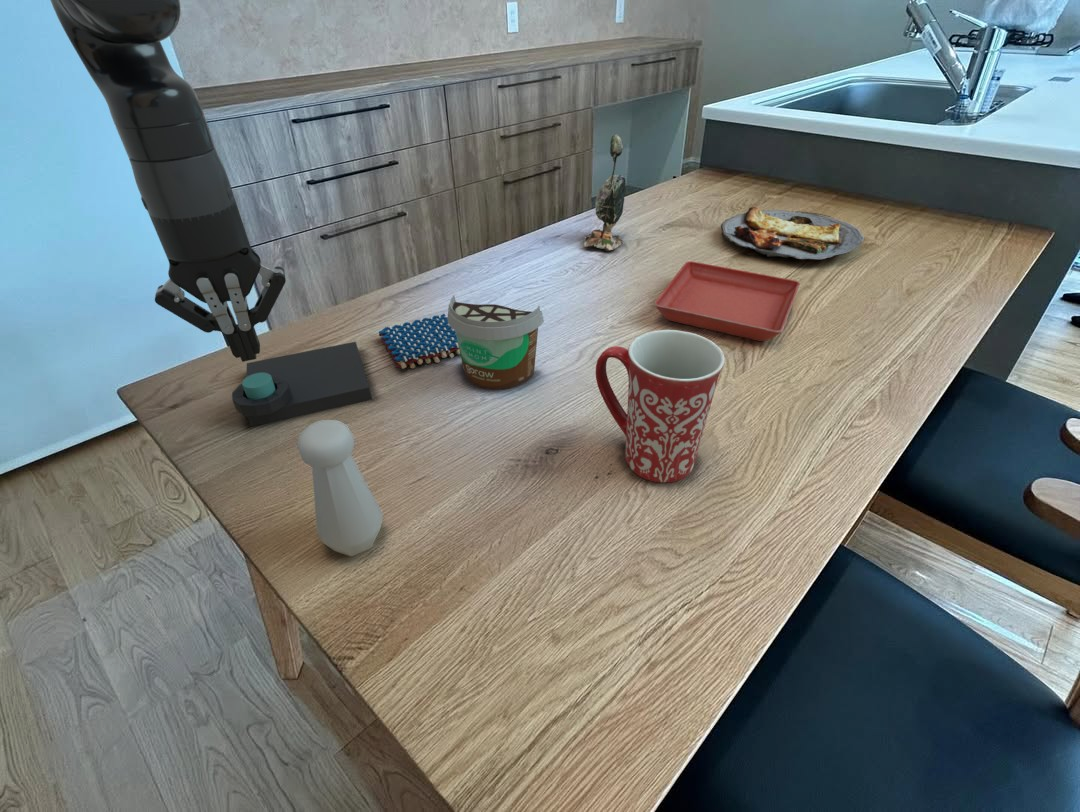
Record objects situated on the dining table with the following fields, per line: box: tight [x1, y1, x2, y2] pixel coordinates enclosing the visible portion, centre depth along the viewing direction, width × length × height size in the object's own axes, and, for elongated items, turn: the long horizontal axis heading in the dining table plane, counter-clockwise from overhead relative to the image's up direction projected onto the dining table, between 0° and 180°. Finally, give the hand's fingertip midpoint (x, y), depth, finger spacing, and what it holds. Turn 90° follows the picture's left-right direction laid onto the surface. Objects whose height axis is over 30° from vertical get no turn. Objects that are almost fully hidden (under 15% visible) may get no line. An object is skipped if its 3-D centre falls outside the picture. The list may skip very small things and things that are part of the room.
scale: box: [231, 341, 373, 427], centre depth 73 cm, size 15×13×4 cm
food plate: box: [720, 206, 865, 260], centre depth 111 cm, size 25×23×4 cm
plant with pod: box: [583, 133, 628, 252], centre depth 107 cm, size 8×11×20 cm
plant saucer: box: [654, 260, 801, 342], centre depth 89 cm, size 18×18×3 cm
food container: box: [447, 294, 545, 391], centre depth 73 cm, size 12×6×10 cm, turn 73°
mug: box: [595, 329, 726, 483], centre depth 60 cm, size 13×9×14 cm
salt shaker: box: [296, 419, 384, 557], centre depth 51 cm, size 6×6×13 cm
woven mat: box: [378, 313, 460, 370], centre depth 82 cm, size 10×11×2 cm
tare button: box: [241, 373, 275, 400], centre depth 68 cm, size 3×3×2 cm
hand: (249, 357), depth 66 cm, fingers closed
